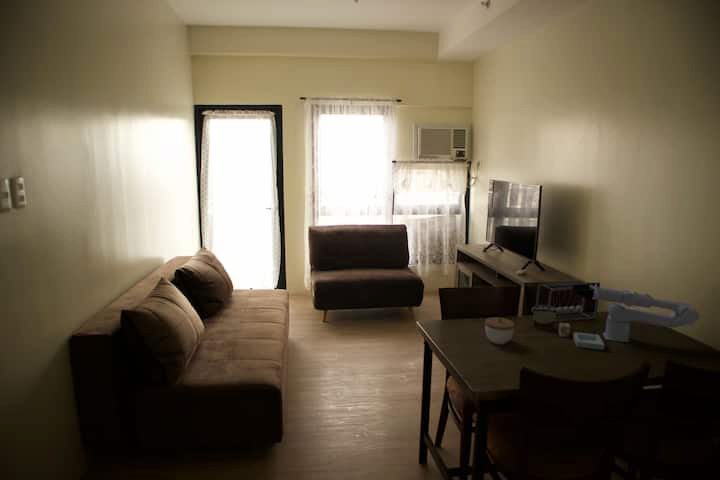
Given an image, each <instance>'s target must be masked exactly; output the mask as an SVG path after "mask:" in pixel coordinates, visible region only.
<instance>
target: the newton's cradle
mask: <svg viewBox="0 0 720 480" xmlns="http://www.w3.org/2000/svg"><path fill="white" fill-rule="evenodd" d="M587 283H588V282H586V281H584V280H580V281H577V280H576V281H564V282H563V281H562V282H550V283H549V282H548V283H540V284H538V286H537V291H536V301H535V305H540V302H539V301H540V291H541V287H545V288H547V289H548V290H549V289H550V291H549V293H548V301H547V302H548V304H547V306H551V303H553V306H551V307H554V308H556V309H557V310H558V313H557V314H556V316H563V315H564V316H565V315H572V314H573V315H574V314H582V315H584V316H586V317H576V318H566V319H555V323H566V322H576V321H585V320H594V319H595V318H596V317H597V314H598V307H599V300H598V299H595V305H594V307H595V308H594V312H593V313H594V314H593V316H590V315H588V314H586V313H584V312H583V311H584V310H585V302H586V298H585V297H582V298H581V300H580V301H581V302H579V304H578V305H576V306H574V305H575V301H576V298H577V297H575V298H574V302H571V303H572V304H571V305H570V306H569V304H566V305H565V306H563V307H562V305H563V302H564V298H565V295H566V291H570V294H569V298H568V299H570V298H571V296H572V292H573V291H574V290H573V286H572V285H582V284H587ZM570 285H571V286H570ZM557 286H558V287H557ZM560 286H561V287H560ZM590 286H592V287H593V286H594V285H592V284H590ZM551 287H553V288H551ZM555 287H556V288H555ZM597 287H599V286H597ZM562 291H564V293H563V297H562V301H561V303H560V306H558V307H556V305H557V303H554V302H557V300H558V299H556V300H555V299H554V294H555V293H554V292H557V296H556V298H558V295H559V296H561V292H562ZM552 295H553V296H552ZM575 296H578V298H580V296H579V295H577V294H575ZM552 298H553V300H552ZM554 300H555V301H554ZM552 301H553V302H552ZM569 302H570V300H568V303H569ZM568 306H569V307H568ZM555 323H554V324H555Z"/></svg>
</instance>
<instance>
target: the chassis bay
mask: <svg viewBox="0 0 720 480" xmlns="http://www.w3.org/2000/svg"><path fill="white" fill-rule="evenodd" d="M571 338H572V339H573V340H572V341H573V342H574V344H575V347H576V348H581V349H589V350H597V351H598V350H599V351H604V350H605V343H604V342H603V340H602V338H601V336H600V334H593V333H585V332H576V331H575V332H573V331H572V337H571Z"/></svg>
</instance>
